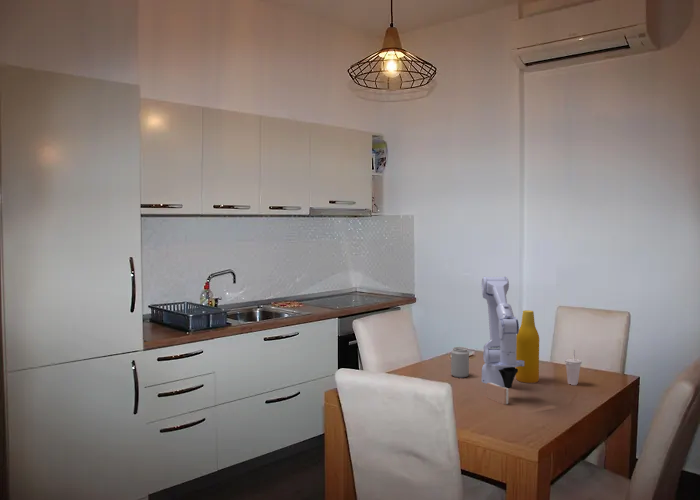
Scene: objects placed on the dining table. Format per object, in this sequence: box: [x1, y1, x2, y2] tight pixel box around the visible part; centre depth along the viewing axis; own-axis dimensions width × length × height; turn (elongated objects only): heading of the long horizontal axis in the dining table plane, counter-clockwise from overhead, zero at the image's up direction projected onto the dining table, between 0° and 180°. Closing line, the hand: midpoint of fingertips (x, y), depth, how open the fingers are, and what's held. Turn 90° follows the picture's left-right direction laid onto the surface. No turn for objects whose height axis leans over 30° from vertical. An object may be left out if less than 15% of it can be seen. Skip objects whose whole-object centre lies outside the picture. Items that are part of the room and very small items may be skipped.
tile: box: [486, 382, 509, 405], centre depth 209 cm, size 9×2×6 cm, turn 29°
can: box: [450, 346, 470, 379], centre depth 246 cm, size 8×8×12 cm
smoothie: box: [564, 349, 582, 386], centre depth 234 cm, size 6×6×14 cm
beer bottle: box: [515, 309, 540, 384], centre depth 239 cm, size 9×9×29 cm
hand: (507, 387), depth 213 cm, fingers closed
